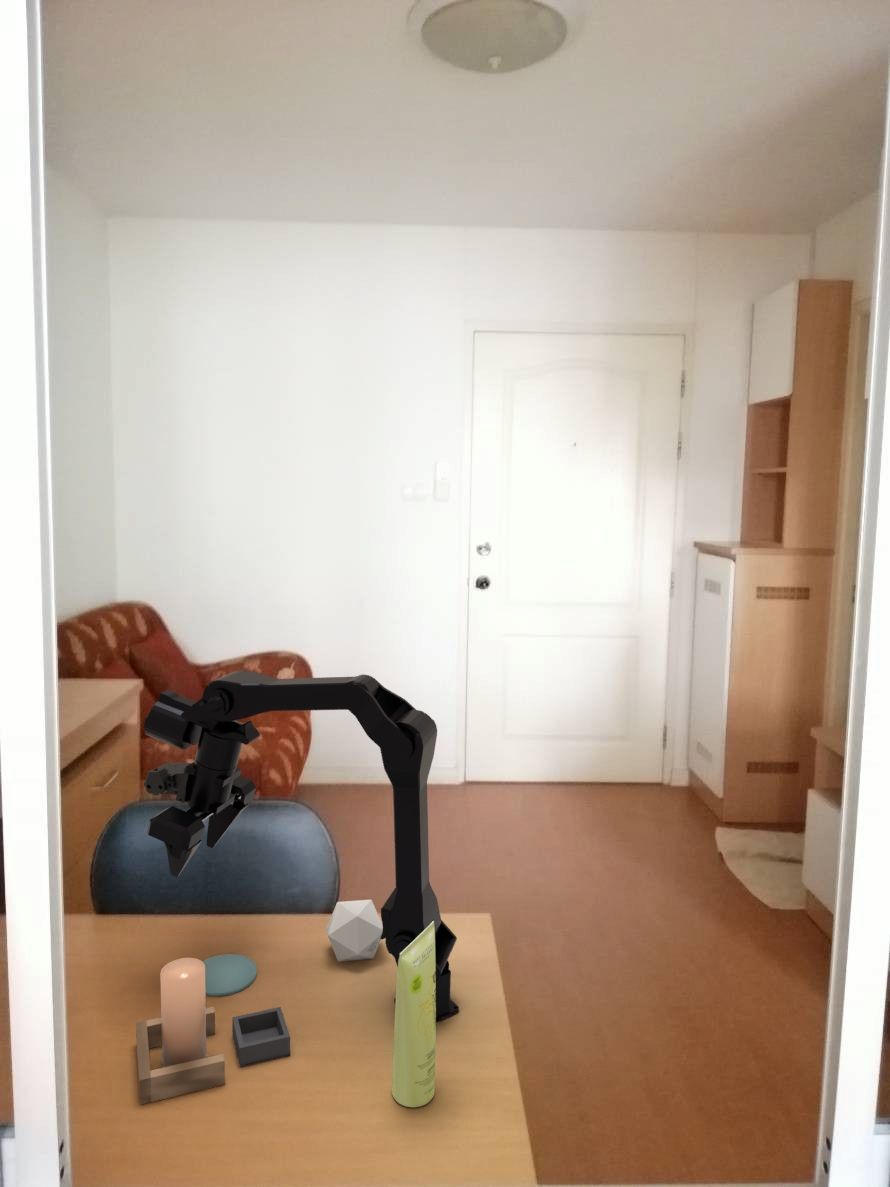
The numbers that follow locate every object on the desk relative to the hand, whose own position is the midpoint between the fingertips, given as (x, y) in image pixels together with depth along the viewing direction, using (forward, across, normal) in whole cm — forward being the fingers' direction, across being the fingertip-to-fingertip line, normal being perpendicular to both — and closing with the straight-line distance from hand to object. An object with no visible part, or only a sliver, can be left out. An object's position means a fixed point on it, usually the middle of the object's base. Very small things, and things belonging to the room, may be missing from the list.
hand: (192, 860), depth 117 cm
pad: (+14, +2, +9) cm, 17 cm away
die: (+10, -9, +24) cm, 28 cm away
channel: (+12, +18, +13) cm, 26 cm away
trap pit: (+11, +13, +20) cm, 26 cm away
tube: (+6, +15, +40) cm, 43 cm away
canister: (+12, +18, +14) cm, 26 cm away
